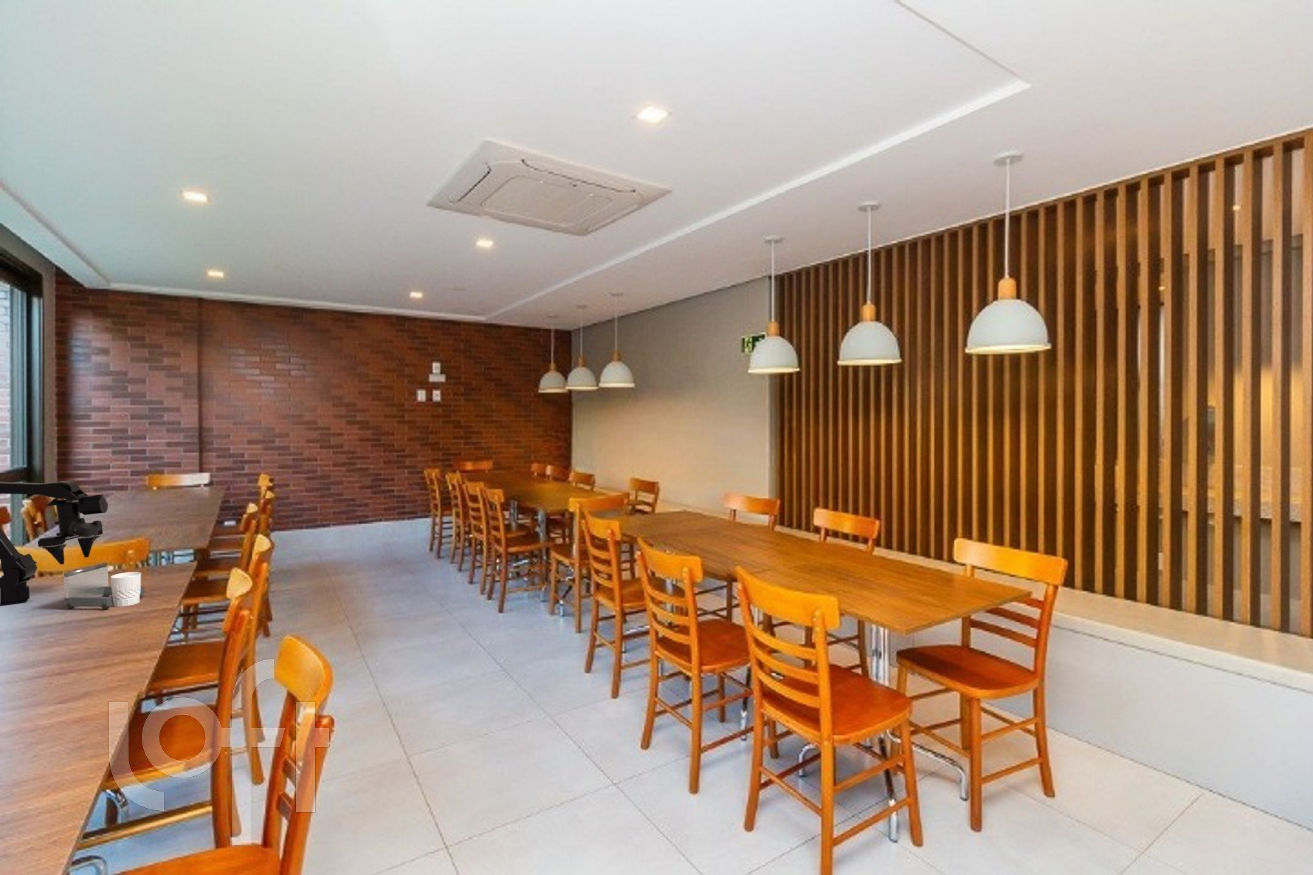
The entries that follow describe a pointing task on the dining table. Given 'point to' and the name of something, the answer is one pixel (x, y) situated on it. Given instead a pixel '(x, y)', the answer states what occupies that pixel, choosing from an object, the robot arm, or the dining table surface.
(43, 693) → the dining table surface
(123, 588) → the white cup
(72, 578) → the silver boxy shape
